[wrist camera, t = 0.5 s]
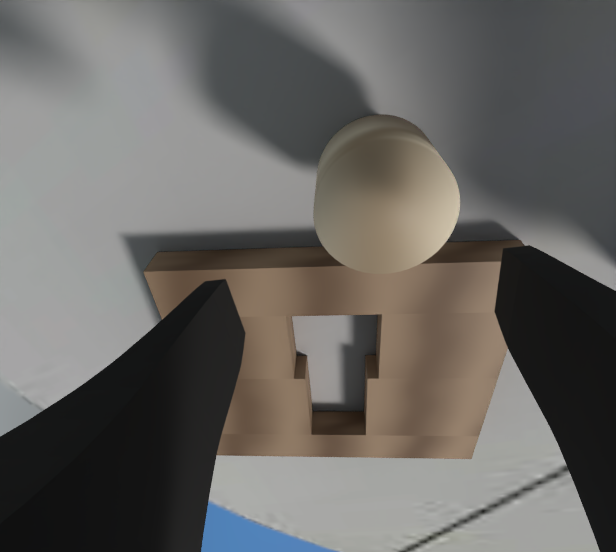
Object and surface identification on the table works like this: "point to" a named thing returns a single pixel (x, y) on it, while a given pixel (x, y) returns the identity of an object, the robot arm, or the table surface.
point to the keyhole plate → (378, 368)
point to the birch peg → (383, 196)
